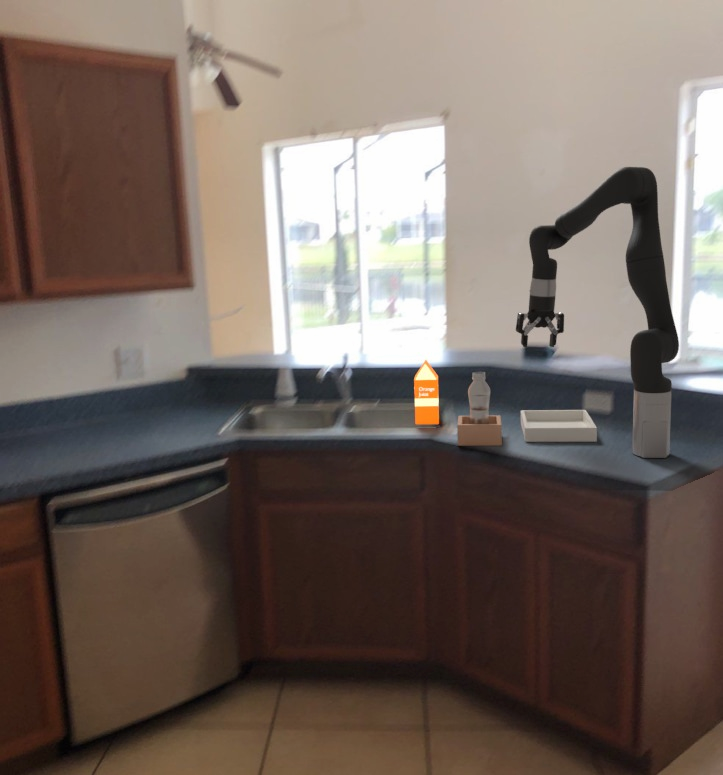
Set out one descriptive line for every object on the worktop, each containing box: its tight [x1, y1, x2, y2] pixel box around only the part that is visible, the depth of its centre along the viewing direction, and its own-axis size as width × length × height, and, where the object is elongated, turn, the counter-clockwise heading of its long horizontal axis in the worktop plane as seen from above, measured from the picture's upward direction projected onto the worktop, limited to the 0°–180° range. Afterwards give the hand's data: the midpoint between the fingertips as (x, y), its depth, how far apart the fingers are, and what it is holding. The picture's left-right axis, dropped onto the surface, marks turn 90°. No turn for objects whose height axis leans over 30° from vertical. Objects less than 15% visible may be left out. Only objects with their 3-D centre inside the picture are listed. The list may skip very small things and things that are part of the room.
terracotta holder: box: [456, 414, 503, 446], centre depth 225 cm, size 12×12×6 cm
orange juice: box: [413, 359, 440, 425], centre depth 251 cm, size 8×9×20 cm
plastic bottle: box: [467, 371, 491, 424], centre depth 224 cm, size 6×7×20 cm
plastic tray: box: [520, 409, 598, 443], centre depth 232 cm, size 24×20×4 cm
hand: (538, 346), depth 233 cm, fingers open, 8 cm apart
